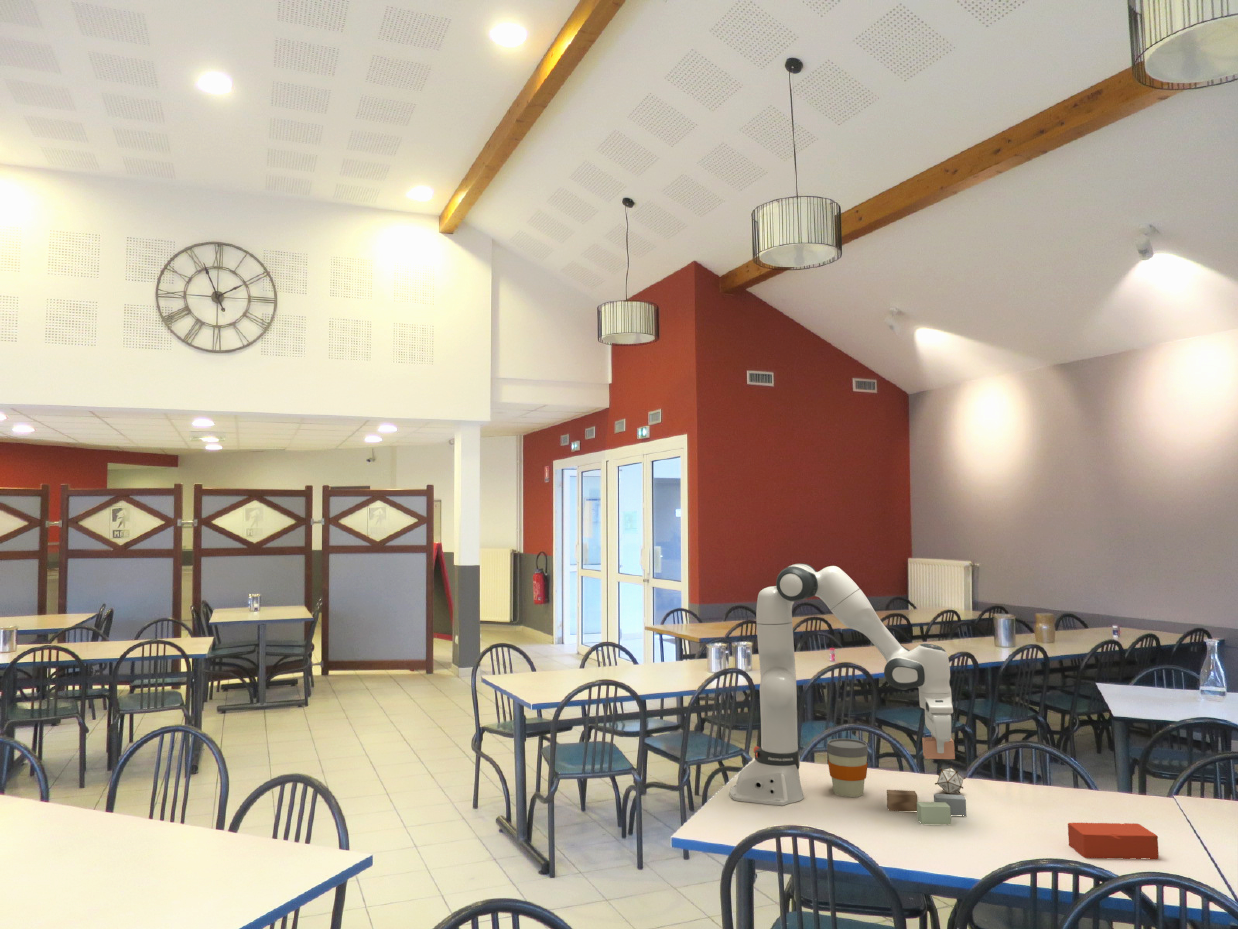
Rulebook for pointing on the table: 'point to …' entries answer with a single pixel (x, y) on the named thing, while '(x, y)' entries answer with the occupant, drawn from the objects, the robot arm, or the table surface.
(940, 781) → the game die
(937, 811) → the sage block
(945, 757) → the terracotta block
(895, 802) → the walnut block
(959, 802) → the slate block
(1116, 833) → the brick
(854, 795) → the reusable coffee cup
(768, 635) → the robot arm
